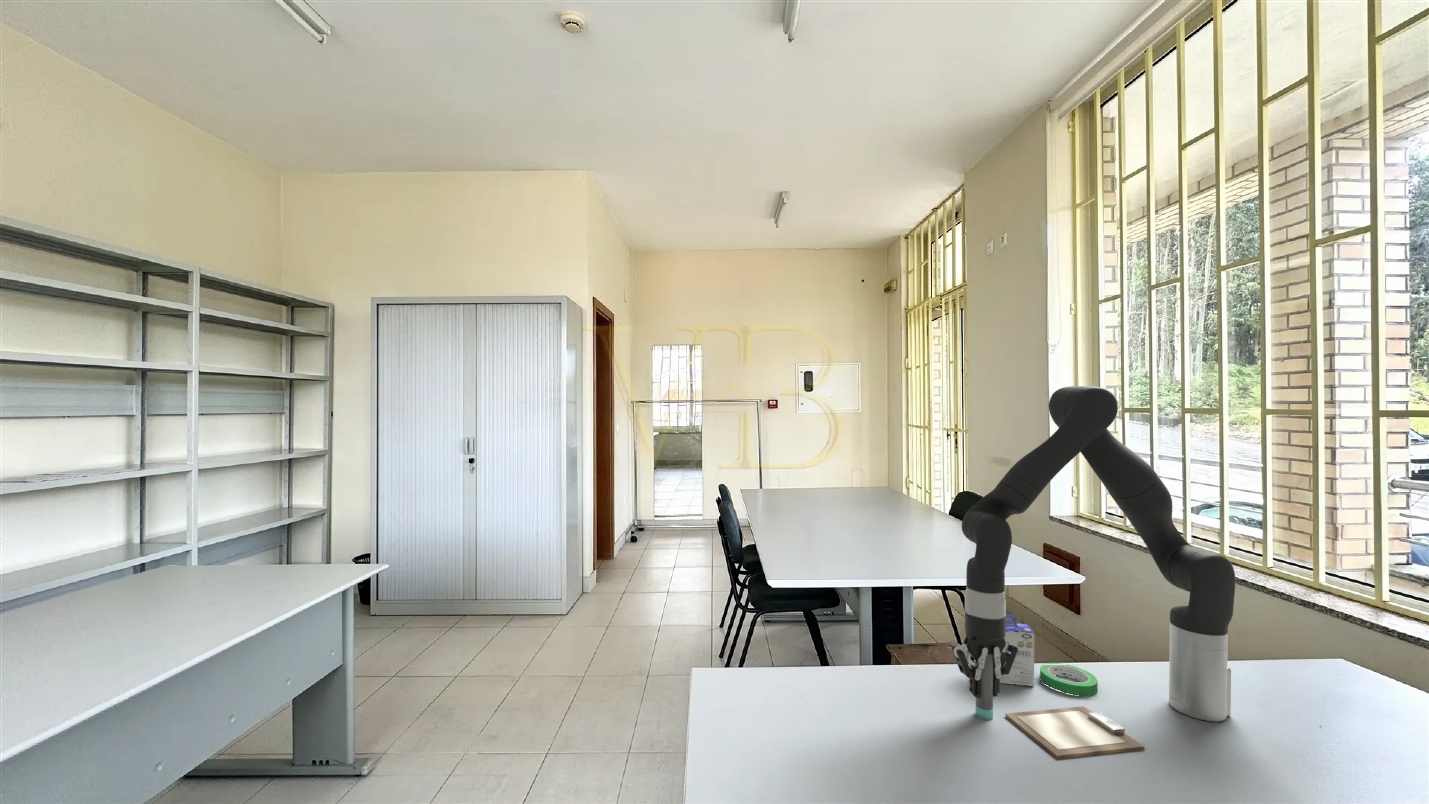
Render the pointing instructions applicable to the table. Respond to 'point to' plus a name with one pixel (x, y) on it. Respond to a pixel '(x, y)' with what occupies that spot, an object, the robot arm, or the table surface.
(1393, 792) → the table surface
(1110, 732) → the clipboard
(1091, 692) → the tape roll
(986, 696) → the marker
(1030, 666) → the ink cartridge box
